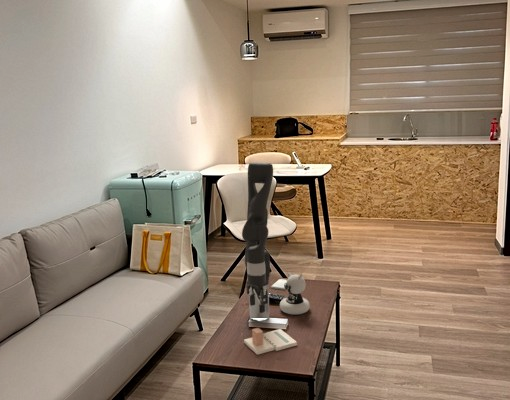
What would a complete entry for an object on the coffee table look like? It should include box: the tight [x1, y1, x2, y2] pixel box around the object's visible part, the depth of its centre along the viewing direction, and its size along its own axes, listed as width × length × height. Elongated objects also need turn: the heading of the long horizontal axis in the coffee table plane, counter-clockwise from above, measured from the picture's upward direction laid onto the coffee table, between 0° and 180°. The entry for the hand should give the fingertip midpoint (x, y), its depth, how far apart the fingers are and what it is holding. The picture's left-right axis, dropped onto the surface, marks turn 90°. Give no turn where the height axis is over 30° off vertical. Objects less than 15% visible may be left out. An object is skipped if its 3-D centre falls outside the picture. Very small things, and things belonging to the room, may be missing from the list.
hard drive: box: [270, 278, 287, 291], centre depth 292 cm, size 2×8×12 cm
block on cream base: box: [243, 327, 275, 355], centre depth 224 cm, size 12×8×7 cm, turn 27°
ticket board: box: [263, 328, 298, 352], centre depth 229 cm, size 14×10×2 cm
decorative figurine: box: [279, 271, 311, 316], centre depth 258 cm, size 15×15×20 cm
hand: (257, 308), depth 221 cm, fingers open, 8 cm apart
